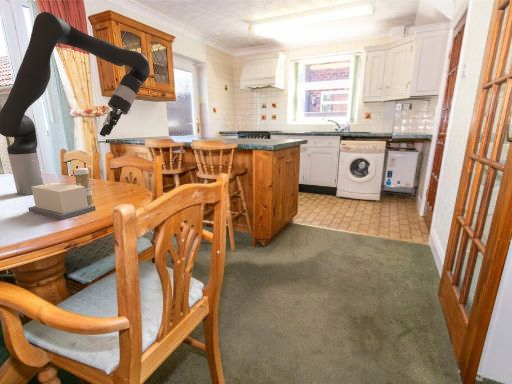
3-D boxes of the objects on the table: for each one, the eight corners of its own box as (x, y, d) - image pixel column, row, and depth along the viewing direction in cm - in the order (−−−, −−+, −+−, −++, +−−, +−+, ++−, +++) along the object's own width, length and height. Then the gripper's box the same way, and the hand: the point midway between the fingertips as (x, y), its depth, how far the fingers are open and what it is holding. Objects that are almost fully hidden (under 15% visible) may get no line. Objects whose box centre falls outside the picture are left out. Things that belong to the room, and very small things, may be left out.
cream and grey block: (29, 211, 89) (23, 187, 87) (63, 203, 99) (59, 181, 97) (62, 220, 82) (57, 193, 80) (95, 210, 91) (92, 186, 89)
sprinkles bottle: (93, 204, 98) (88, 169, 95) (79, 206, 96) (73, 170, 93) (93, 201, 102) (87, 167, 99) (79, 203, 100) (73, 168, 96)
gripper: (109, 97, 108) (90, 131, 105) (116, 90, 97) (96, 128, 94) (127, 107, 112) (110, 140, 109) (136, 102, 101) (117, 138, 98)
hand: (103, 134), depth 102 cm, fingers open, 8 cm apart
